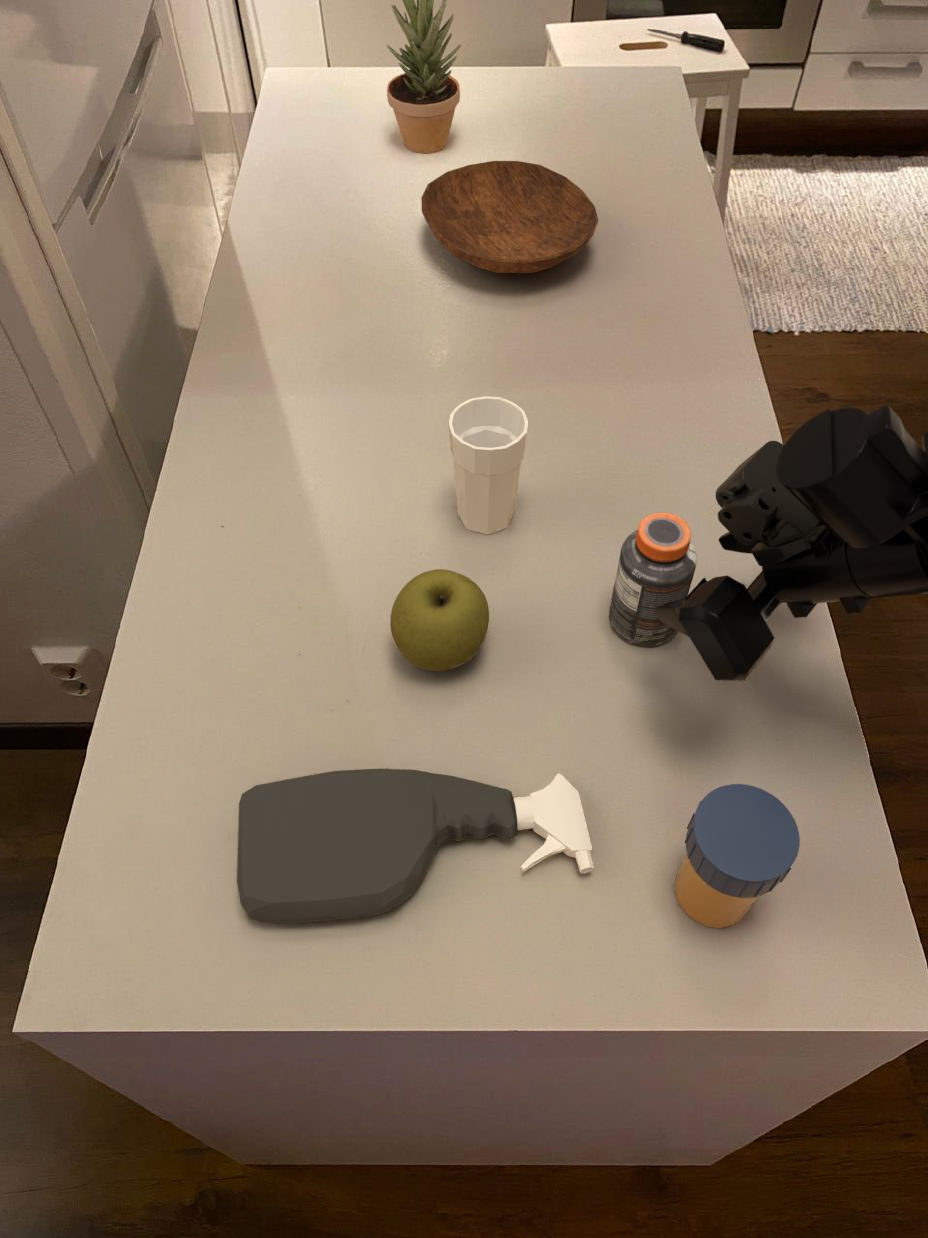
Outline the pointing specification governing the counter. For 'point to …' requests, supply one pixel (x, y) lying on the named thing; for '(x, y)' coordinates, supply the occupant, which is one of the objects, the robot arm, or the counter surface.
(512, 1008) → the counter surface
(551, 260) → the bowl
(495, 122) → the counter surface
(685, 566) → the pill bottle
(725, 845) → the jar lid
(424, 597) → the apple
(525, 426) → the cup
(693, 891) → the jar
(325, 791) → the spray bottle
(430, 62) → the potted plant
